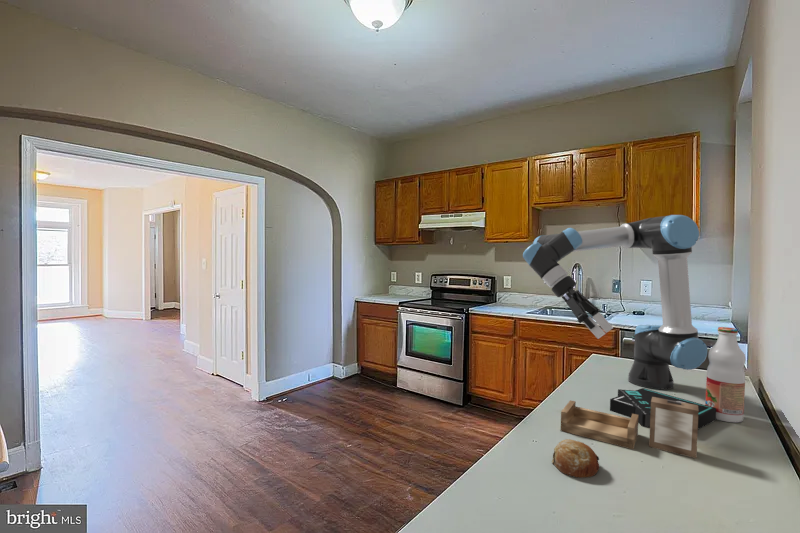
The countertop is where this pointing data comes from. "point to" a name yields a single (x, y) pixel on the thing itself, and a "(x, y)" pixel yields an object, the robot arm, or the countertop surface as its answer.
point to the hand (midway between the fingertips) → (606, 333)
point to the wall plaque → (641, 406)
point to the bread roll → (575, 459)
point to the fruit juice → (726, 377)
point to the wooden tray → (600, 425)
